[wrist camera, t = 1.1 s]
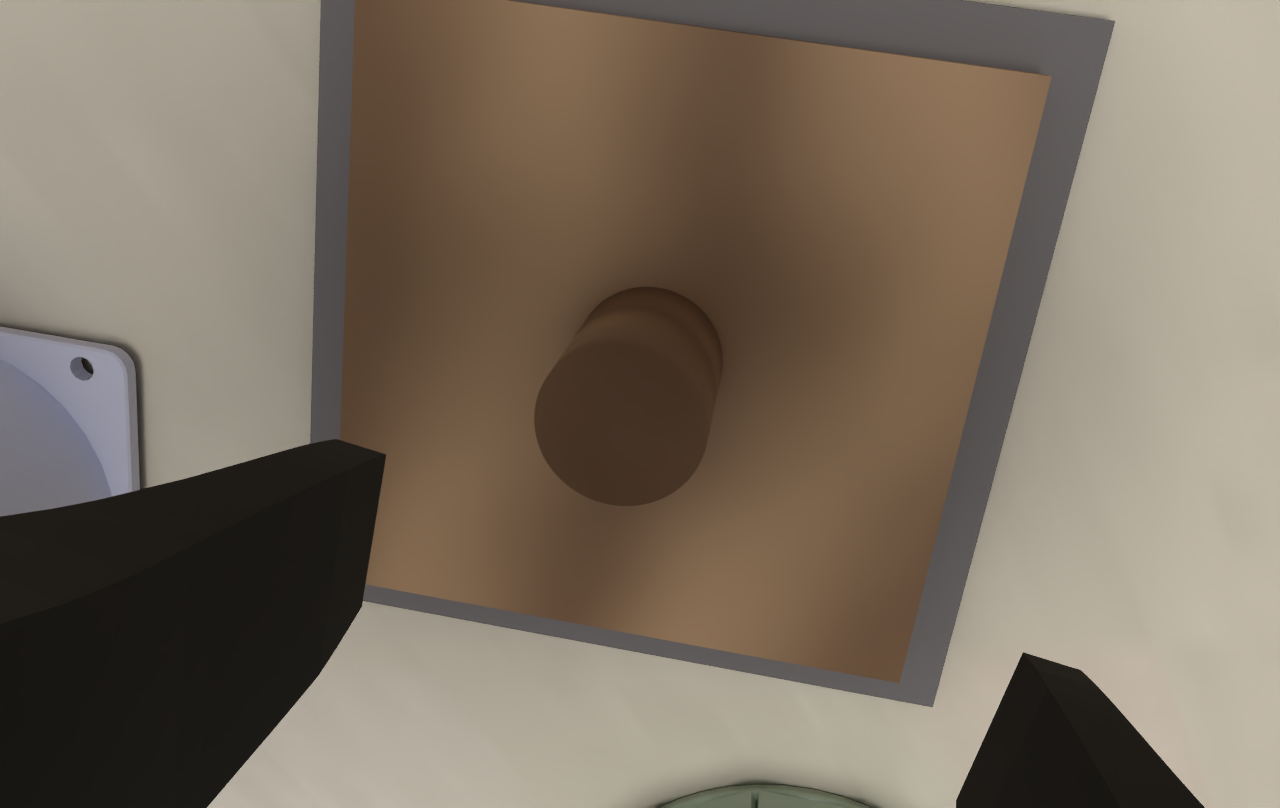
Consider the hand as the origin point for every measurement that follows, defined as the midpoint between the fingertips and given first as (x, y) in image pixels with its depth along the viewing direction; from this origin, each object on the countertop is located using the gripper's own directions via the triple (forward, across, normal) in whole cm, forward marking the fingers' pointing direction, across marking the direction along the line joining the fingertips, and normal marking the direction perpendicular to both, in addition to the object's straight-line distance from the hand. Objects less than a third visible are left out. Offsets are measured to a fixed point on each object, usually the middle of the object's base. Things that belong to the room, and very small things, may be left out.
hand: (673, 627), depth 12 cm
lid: (+10, +2, 0) cm, 10 cm away
